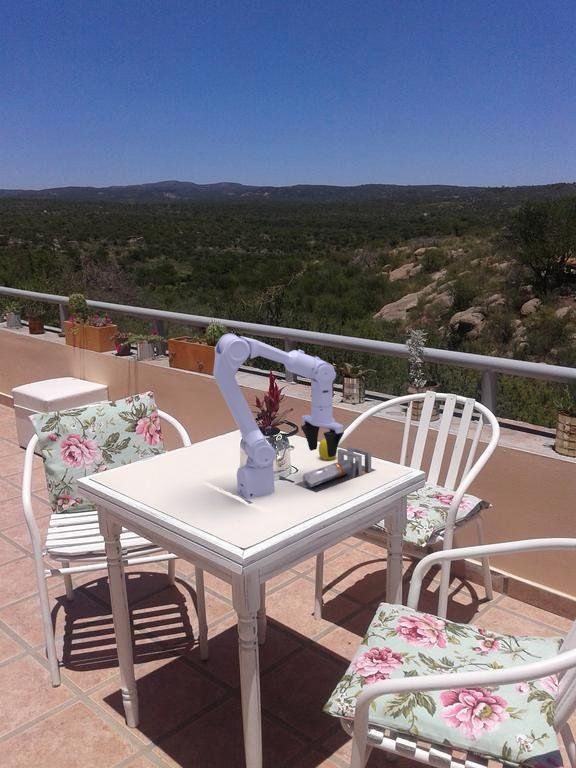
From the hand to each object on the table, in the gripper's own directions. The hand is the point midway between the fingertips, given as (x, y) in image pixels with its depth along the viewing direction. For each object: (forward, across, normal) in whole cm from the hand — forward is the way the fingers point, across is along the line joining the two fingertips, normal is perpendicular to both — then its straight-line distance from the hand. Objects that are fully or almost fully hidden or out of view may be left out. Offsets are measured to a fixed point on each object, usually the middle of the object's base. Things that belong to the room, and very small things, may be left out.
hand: (322, 452), depth 180 cm
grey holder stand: (+9, 0, -6) cm, 11 cm away
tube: (+8, 0, -1) cm, 8 cm away
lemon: (+10, +13, -14) cm, 21 cm away
